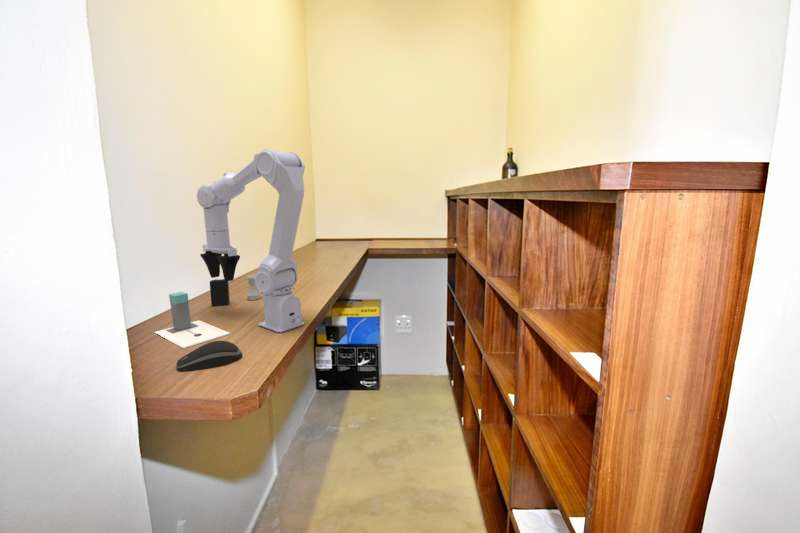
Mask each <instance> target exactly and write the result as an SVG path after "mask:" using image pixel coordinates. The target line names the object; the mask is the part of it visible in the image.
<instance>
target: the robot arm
mask: <svg viewBox="0 0 800 533" xmlns="http://www.w3.org/2000/svg"><path fill="white" fill-rule="evenodd" d="M305 168H306V166H305V164H304V162H303V160H302V159H301V157H300V156H299V155H298V153H295V152H292V151H291V152H287V151H280V150H279V151H278V150H271V149H267V148H266V149H262V150H261V151H259V152H258V153H256V154H254V155H253V160H251V161H250V162H249V163H248V164H246V165H245V166H244V167H242V168H241V169H240V170H239V171H238V172H236V173H234V172H224V173H223V174H222V177H221V178H219V179H217V180H214V181H212V184H210V185H206V184H205V185H201V186H200V187H199V188H198V190H197V192H196V193H197V194H196V199H197V202H198V204H199V205H200V206H201V208H203V209H202V210H203V216H204V217H203V218H204V225H205V226H204V227H205V236H206V244H202V250H203V252H204V253H200V257H201V259H202V260H203V261H204V264H205V266H206V268H207V270H208V272H209V275H210V278H212V279H214V278H219V277H220V274H221V271H222V274H223V275H222V276H223V279H225V281H226V282H227V281H228V282H231V281H234V279H235V273H236V268H237V265H238V262H239V260H240V259H241V255H240V254H239V255H238V251H237V248H236V247H233V246H232V245H231V241H230V228H229V219H228V217H229V216H228V213H229V212H230V210H229V209H230V204H231V201H232V200H233V199H235V198H236V197H237V196H240V195H241V194H242V193H244V192H245V190H246V185H248V184H250V183H252V182H255V180H257V179H260V178H261V177H262V178H263V179H264V180H265V181H266V182H267V183H269V185H270V186H272V187H273V189H275V190H276V191H277V193H278V199H277V206H276V211H275V212H276V213H275V216H274V217H275V218H274V223H273V227H272V228H273V229H272V235H271V240H270V244H269V245H270V246H269V251H268V255H267V256H266V257H265V258H264V259H263V260H262V261H261V262H260V264H259V268H258V269H257V272H256V273H255V274H256V275H255V274H254V276H255V285H256V287H257V289H258V291H259V292H260V294H261V295H262V298H263V311H264V312H263V313H264V321H262V322H258V324H257V325H258V326H260V327H263V328H266V329H267V330H270V331H273V332H277V333H279V332H280V333H284V332H286V331H288V330H292V329H294V328H297V327H298V328H299V327H301V326H303V325H305V322H304V321H303V318H302V317H303V316H302V303H301V300H300V299H299V297H298V296H296V295H295V294H294V292H293V290H294V288H295V287H294V286H295V285H296V284H297V281H298V270H297V269H298V268H297V267H298V262H296V260H295V259H293V252H294V248H295V247H294V246H295V241H296V236H297V231H298V227H299V222H300V216H301V212H302V210H301V209H302V207H303V200H304V196H305V184H304V173H305Z"/></svg>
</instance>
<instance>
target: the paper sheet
mask: <svg viewBox="0 0 800 533" xmlns="http://www.w3.org/2000/svg"><path fill="white" fill-rule="evenodd" d="M153 333H154V334H155V333H156V334H155V335H157V334H158V335H160V336H161V337H160V336H159V337H160V338H162V337H163V338H162V339H164V338H165V339H164V340H166V341H168V342H170V343H172V344H174V345H175V346H178V347H179V348H181V349H184V350H185V349H188V348H191V347H195V346H197V345H201V344H203V343H208V342H210V341H215V340H217V339H219V338H222V337H226V336H230V335H231V333H230V332H229V331H227V330H224V329H222V328H219V327H216V326H213V325H211V324H209V323H206V322H204V321H202V320H200V319H199V320H198V319H197V320H195V321H191V328H188V329H184V330H181V331H178V330H176V329H174V327H173V326H172V327H167V328H165V329H161V330H157V331H153ZM158 335H157V336H158Z"/></svg>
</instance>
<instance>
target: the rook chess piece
mask: <svg viewBox="0 0 800 533" xmlns="http://www.w3.org/2000/svg"><path fill="white" fill-rule="evenodd" d="M255 275H256V273H251V274H248V275H247V277H246V279H247V280H248V281H247V284H248V291H247V293H246V299H247V300H248V301H257V300H261V297H262V296H261V295H262V294H261V292H260V291H259V290H258V289H257V287H256V285H255Z"/></svg>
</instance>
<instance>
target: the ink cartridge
mask: <svg viewBox="0 0 800 533" xmlns="http://www.w3.org/2000/svg"><path fill="white" fill-rule="evenodd" d="M229 282H230V281H227V282H226V281H225V279H224V278H221V279H212V280H210V281H209V291H210V301H211V302H210V303H211V306H212V307H223V306H229V305H230V304H231V299H230V286H229V285H230V284H229Z"/></svg>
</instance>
